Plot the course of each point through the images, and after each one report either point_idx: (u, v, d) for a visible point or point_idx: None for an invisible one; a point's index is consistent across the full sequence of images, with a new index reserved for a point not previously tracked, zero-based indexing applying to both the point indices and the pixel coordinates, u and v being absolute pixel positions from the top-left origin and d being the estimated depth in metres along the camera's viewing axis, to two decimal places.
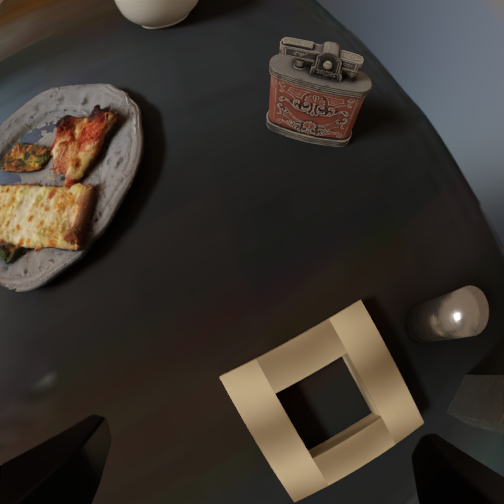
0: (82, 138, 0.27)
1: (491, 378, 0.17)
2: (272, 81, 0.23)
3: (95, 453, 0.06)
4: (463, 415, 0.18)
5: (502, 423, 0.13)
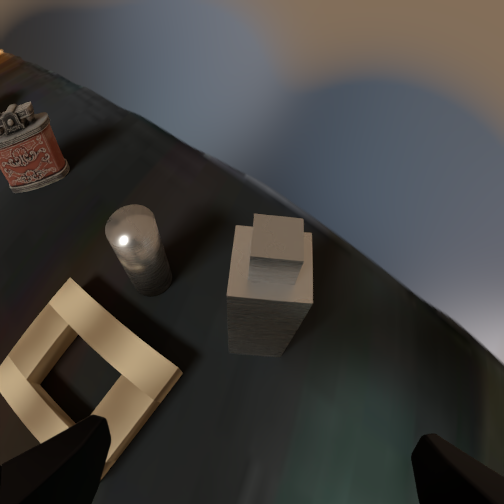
0: None
1: None
2: None
3: (95, 453, 0.06)
4: (229, 343, 0.20)
5: (229, 317, 0.15)
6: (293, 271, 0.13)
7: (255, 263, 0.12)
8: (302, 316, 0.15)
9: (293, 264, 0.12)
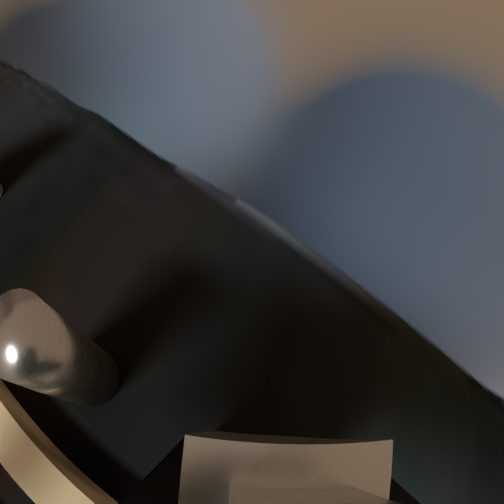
0: None
1: None
2: None
3: None
4: None
5: None
6: None
7: None
8: None
9: None
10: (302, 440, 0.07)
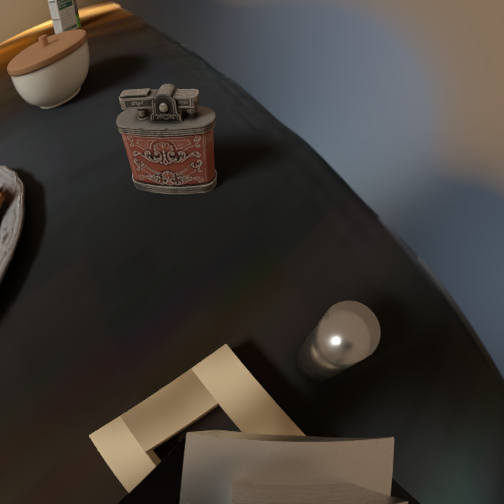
0: None
1: None
2: (123, 138, 0.24)
3: None
4: None
5: None
6: None
7: None
8: None
9: None
10: None
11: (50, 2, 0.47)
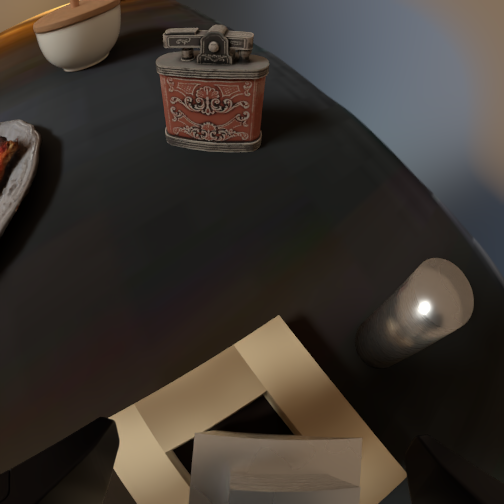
0: None
1: None
2: (161, 82, 0.20)
3: (104, 456, 0.06)
4: None
5: None
6: None
7: None
8: None
9: None
10: (291, 437, 0.08)
11: None
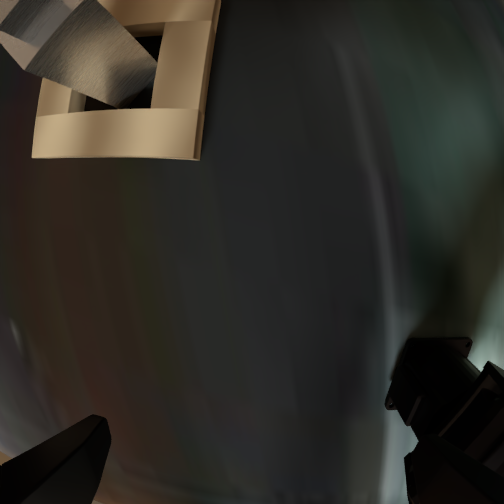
0: None
1: None
2: None
3: (95, 453, 0.06)
4: (107, 102, 0.15)
5: (61, 81, 0.10)
6: None
7: (8, 27, 0.06)
8: (104, 12, 0.09)
9: None
10: None
11: None
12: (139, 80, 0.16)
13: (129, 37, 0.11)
